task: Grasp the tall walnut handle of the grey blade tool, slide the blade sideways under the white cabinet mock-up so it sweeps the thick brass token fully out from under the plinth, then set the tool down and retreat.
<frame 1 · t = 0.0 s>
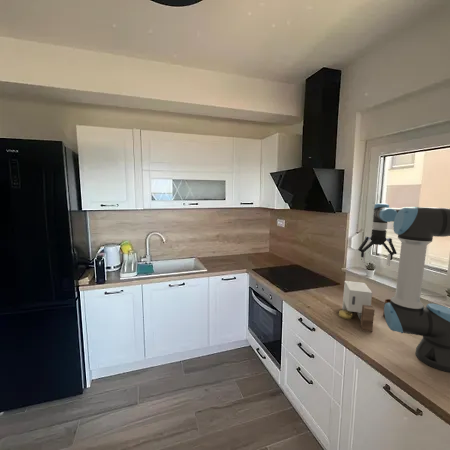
hand: (375, 263, 156), 28 cm above the worktop, fingers open, 13 cm apart
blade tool: (366, 329, 133), on the worktop
cabinet: (354, 315, 148), on the worktop
brass token: (345, 316, 147), on the worktop
mug: (393, 317, 148), on the worktop
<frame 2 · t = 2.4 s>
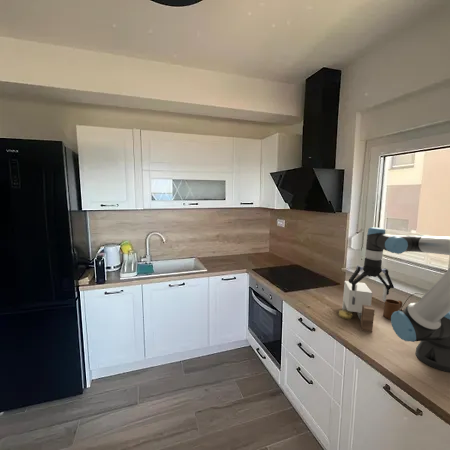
hand: (368, 298, 131), 17 cm above the worktop, fingers open, 13 cm apart
nothing on the worktop moved.
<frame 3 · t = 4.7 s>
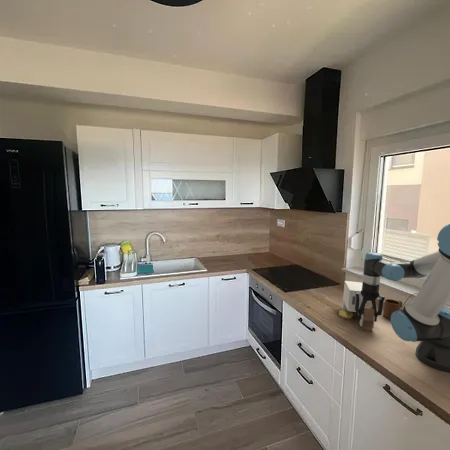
hand: (366, 325, 133), 2 cm above the worktop, fingers closed on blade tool, 4 cm apart
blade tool: (366, 329, 133), on the worktop, touching gripper
everything else where it was.
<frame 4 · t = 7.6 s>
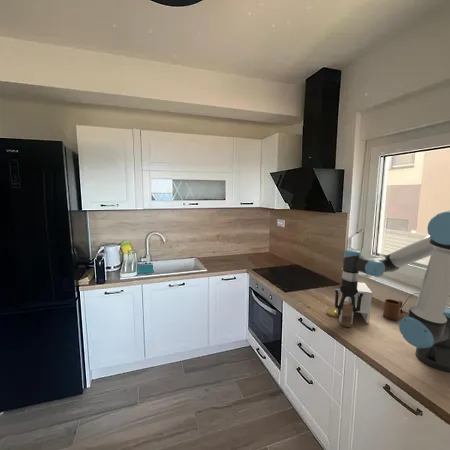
hand: (345, 321, 136), 2 cm above the worktop, fingers closed on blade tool, 4 cm apart
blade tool: (345, 324, 136), point 1 cm above the worktop, touching gripper
brass token: (334, 314, 149), on the worktop
everything else where it was.
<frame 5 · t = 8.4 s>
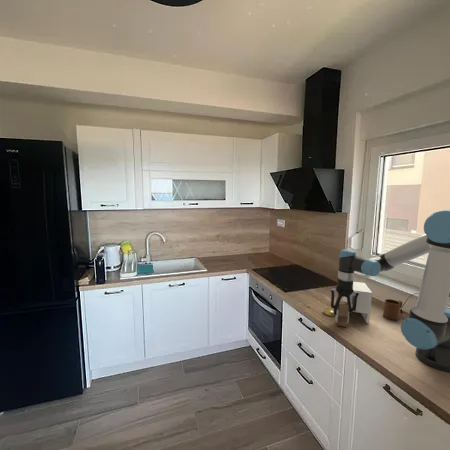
hand: (341, 321, 136), 2 cm above the worktop, fingers closed on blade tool, 4 cm apart
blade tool: (341, 324, 136), on the worktop, touching brass token, gripper
brass token: (330, 314, 149), on the worktop, touching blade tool
everything else where it was.
when the fingers open (2 cm above the worktop, at t = 9.4 s): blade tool stays where it is, on the worktop.
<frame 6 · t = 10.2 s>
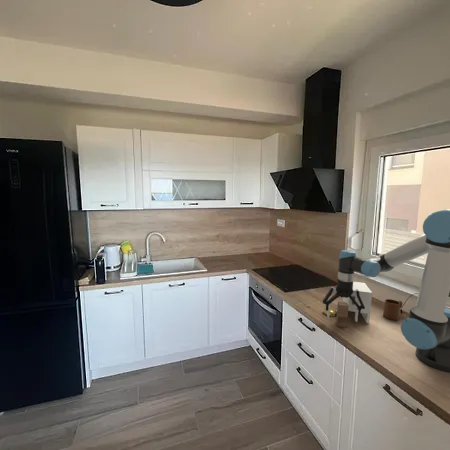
hand: (341, 318, 136), 4 cm above the worktop, fingers open, 13 cm apart
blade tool: (341, 325, 136), on the worktop
brass token: (330, 314, 149), on the worktop
everything else where it was.
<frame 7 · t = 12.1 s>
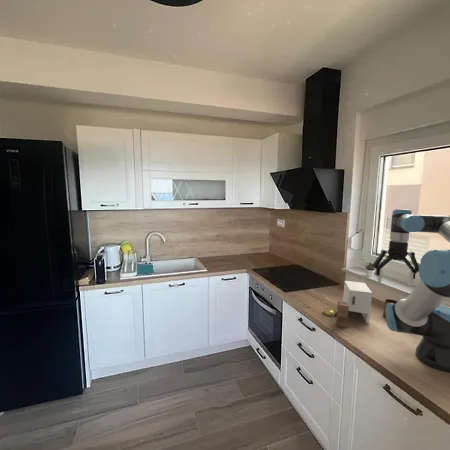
hand: (394, 283, 126), 26 cm above the worktop, fingers open, 13 cm apart
nothing on the worktop moved.
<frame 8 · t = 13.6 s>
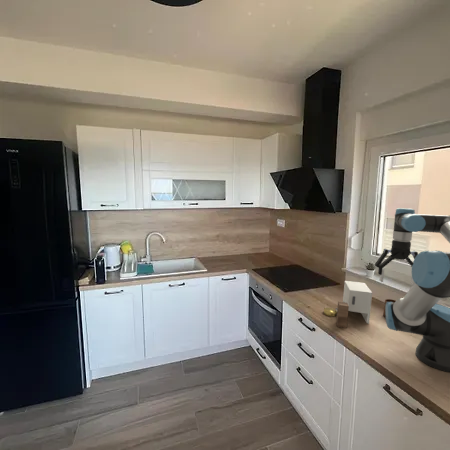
hand: (396, 282, 126), 27 cm above the worktop, fingers open, 13 cm apart
nothing on the worktop moved.
at the end: brass token inside the target area (4.5 cm from its centre), on the worktop; the gripper is holding nothing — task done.
